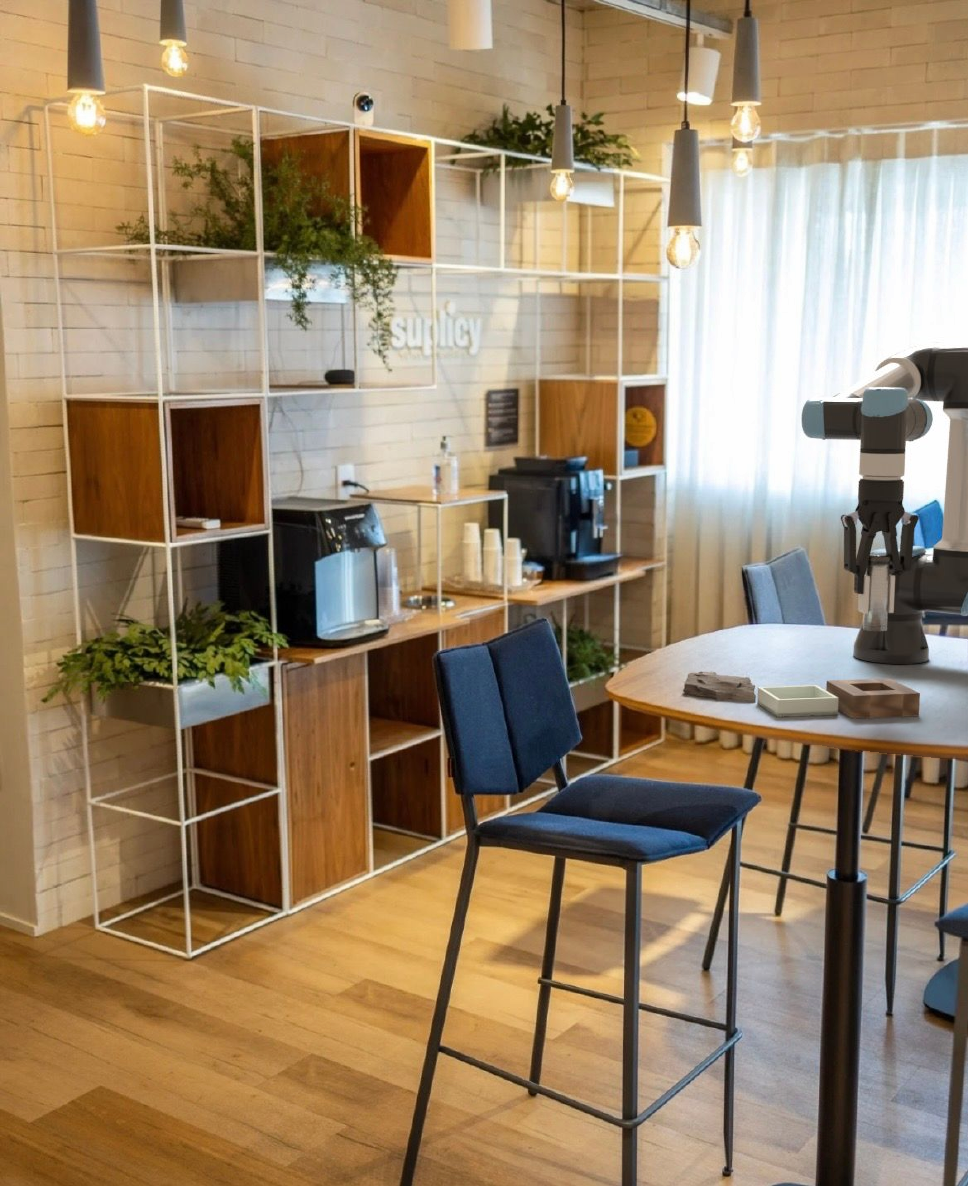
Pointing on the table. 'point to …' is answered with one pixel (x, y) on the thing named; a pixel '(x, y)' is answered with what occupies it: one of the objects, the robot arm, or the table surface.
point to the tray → (797, 700)
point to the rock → (720, 687)
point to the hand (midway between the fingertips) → (875, 611)
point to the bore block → (874, 698)
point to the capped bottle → (877, 592)
